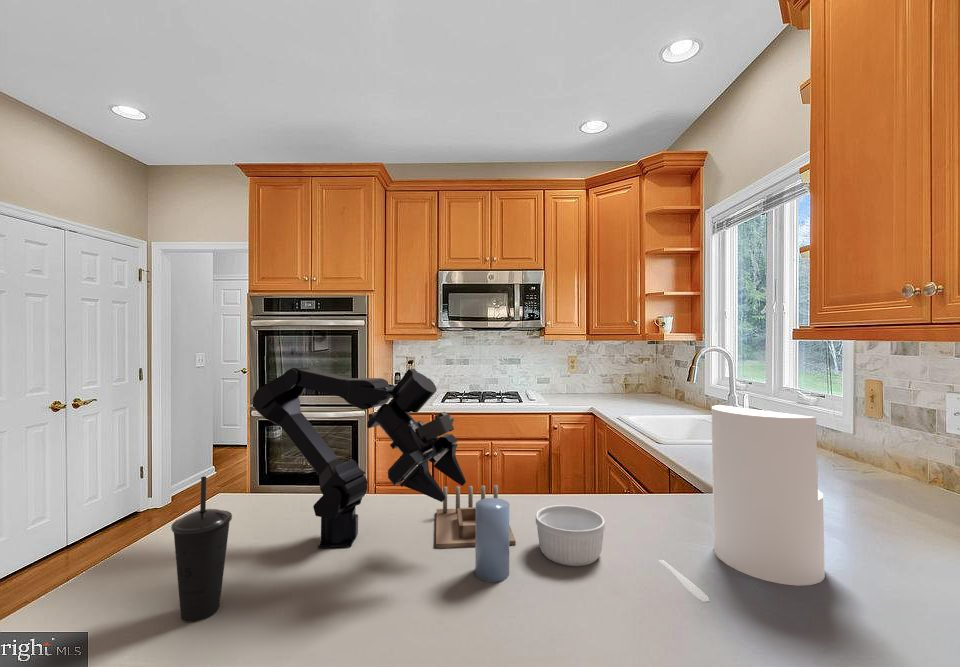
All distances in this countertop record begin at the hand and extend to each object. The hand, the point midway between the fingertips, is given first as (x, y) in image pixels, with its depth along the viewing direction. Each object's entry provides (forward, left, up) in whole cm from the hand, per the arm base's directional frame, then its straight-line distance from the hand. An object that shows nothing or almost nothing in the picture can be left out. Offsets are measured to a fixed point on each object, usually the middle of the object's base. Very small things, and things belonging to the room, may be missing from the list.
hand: (454, 491), depth 78 cm
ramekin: (+23, +2, -13) cm, 26 cm away
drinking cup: (-38, -11, -13) cm, 42 cm away
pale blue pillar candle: (+7, -4, -13) cm, 15 cm away
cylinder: (+59, -4, -13) cm, 60 cm away
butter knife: (+38, -2, -14) cm, 41 cm away
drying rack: (+5, +15, -13) cm, 21 cm away
